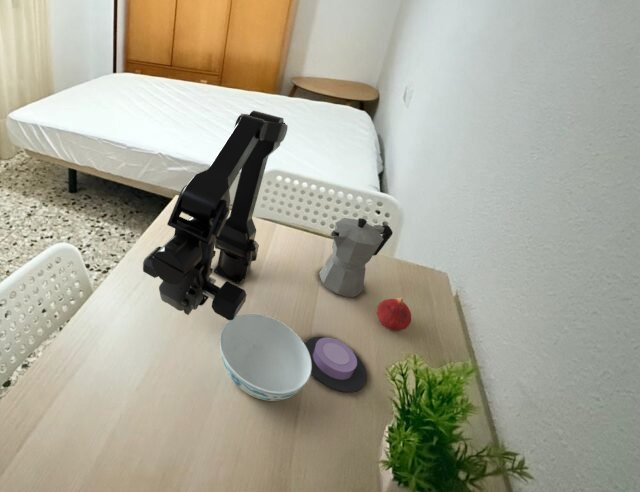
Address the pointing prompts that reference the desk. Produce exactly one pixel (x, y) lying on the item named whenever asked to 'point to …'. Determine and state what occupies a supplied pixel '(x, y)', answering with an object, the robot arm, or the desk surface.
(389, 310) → the red pomegranate
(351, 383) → the coaster
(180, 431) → the desk surface
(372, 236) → the coffeepot
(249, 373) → the chinaware
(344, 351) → the purple disc
